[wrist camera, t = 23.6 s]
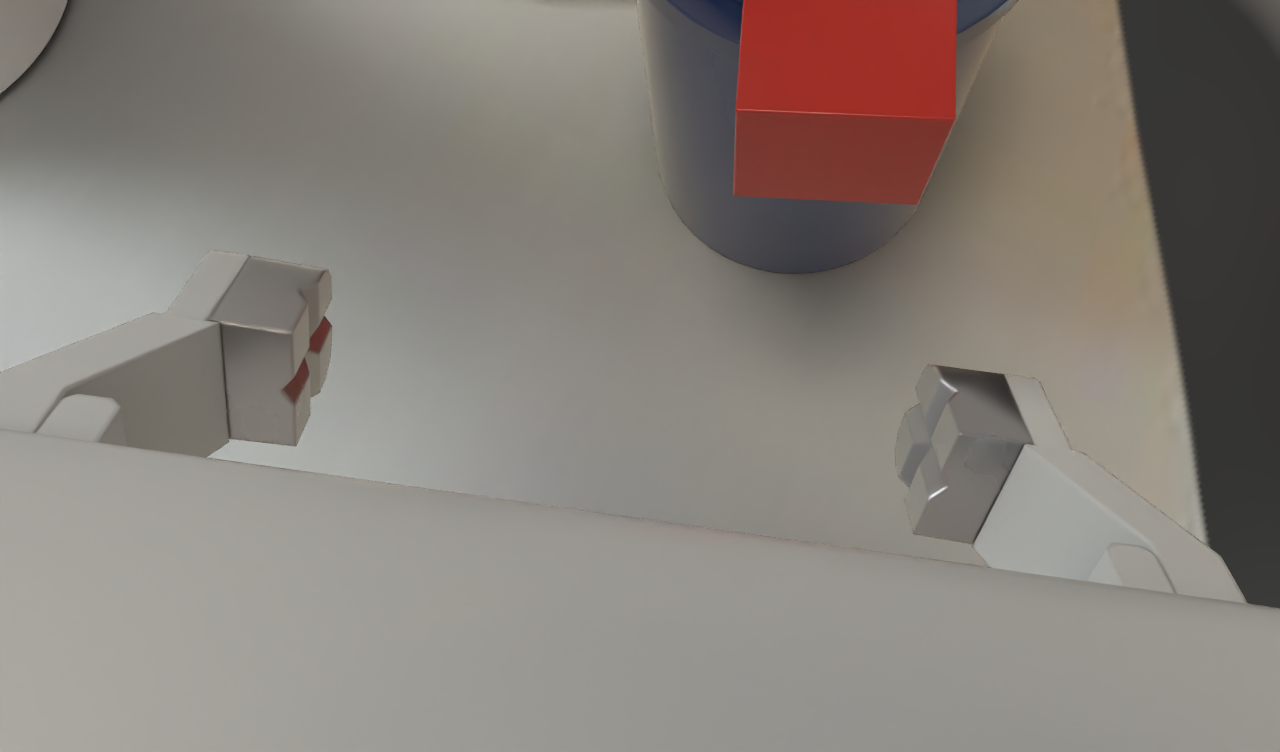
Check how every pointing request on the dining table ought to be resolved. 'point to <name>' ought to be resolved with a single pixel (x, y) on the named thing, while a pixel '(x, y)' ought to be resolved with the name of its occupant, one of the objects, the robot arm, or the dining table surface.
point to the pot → (705, 134)
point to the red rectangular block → (843, 98)
